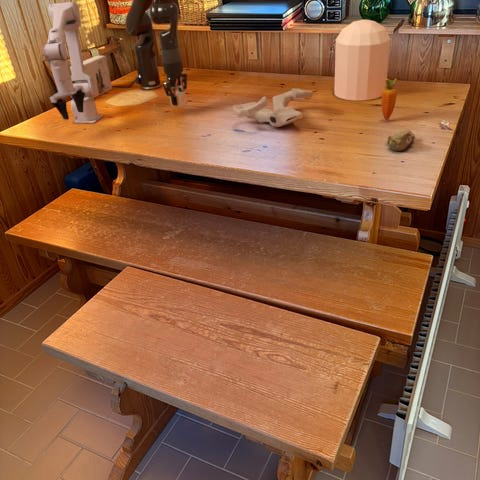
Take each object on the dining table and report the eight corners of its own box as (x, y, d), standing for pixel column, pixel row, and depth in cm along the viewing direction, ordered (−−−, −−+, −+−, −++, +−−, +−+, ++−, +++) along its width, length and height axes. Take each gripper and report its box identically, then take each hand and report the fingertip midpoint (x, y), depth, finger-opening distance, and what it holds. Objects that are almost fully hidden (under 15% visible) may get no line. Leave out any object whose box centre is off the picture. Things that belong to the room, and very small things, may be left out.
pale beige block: (171, 105, 189) (169, 94, 186) (177, 102, 192) (175, 91, 189) (180, 106, 187) (178, 95, 184) (186, 103, 190) (185, 92, 187)
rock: (408, 140, 153) (379, 139, 152) (414, 122, 149) (384, 120, 148) (421, 154, 144) (391, 153, 143) (428, 135, 140) (396, 133, 139)
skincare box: (87, 102, 214) (77, 67, 204) (78, 102, 215) (68, 66, 206) (113, 88, 229) (105, 54, 220) (104, 88, 231) (96, 54, 222)
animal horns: (230, 133, 167) (227, 101, 161) (244, 110, 188) (241, 81, 182) (308, 133, 161) (308, 99, 155) (313, 109, 182) (314, 78, 176)
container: (354, 104, 182) (359, 27, 166) (324, 91, 198) (325, 20, 182) (396, 93, 189) (404, 18, 173) (363, 81, 205) (368, 12, 189)
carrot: (394, 118, 167) (398, 76, 158) (393, 123, 163) (397, 80, 154) (379, 117, 168) (383, 75, 160) (378, 122, 165) (382, 80, 156)
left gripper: (55, 85, 159) (67, 123, 167) (85, 73, 169) (95, 110, 177) (41, 84, 162) (53, 121, 170) (71, 72, 172) (81, 108, 180)
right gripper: (169, 65, 172) (176, 110, 182) (190, 55, 183) (195, 98, 192) (153, 64, 176) (161, 108, 185) (174, 54, 186) (181, 97, 195)
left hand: (73, 115), depth 173 cm, fingers open, 7 cm apart
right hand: (178, 103), depth 189 cm, fingers closed on pale beige block, 4 cm apart
